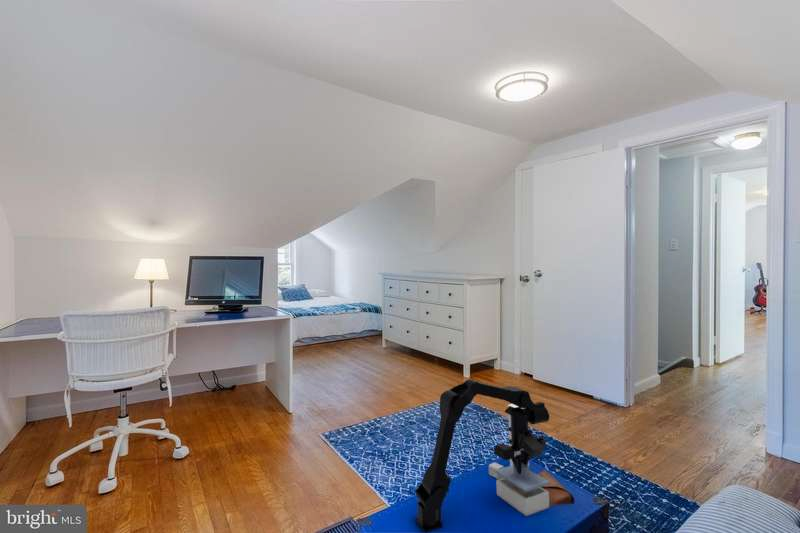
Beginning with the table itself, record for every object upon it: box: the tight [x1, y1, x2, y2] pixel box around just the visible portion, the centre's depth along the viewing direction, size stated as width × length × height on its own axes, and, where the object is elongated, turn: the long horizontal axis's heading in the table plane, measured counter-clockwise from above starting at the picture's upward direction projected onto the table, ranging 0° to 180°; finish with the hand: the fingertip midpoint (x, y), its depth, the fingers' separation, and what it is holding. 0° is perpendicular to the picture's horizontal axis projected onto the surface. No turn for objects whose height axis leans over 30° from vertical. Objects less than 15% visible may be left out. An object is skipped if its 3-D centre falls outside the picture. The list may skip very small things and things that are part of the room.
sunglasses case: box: [536, 469, 575, 507], centre depth 135 cm, size 18×7×7 cm, turn 9°
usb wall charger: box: [488, 462, 505, 480], centre depth 145 cm, size 4×7×4 cm, turn 36°
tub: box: [495, 478, 550, 517], centre depth 129 cm, size 10×14×5 cm
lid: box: [495, 462, 549, 492], centre depth 129 cm, size 10×14×6 cm
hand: (521, 472), depth 129 cm, fingers closed on lid
